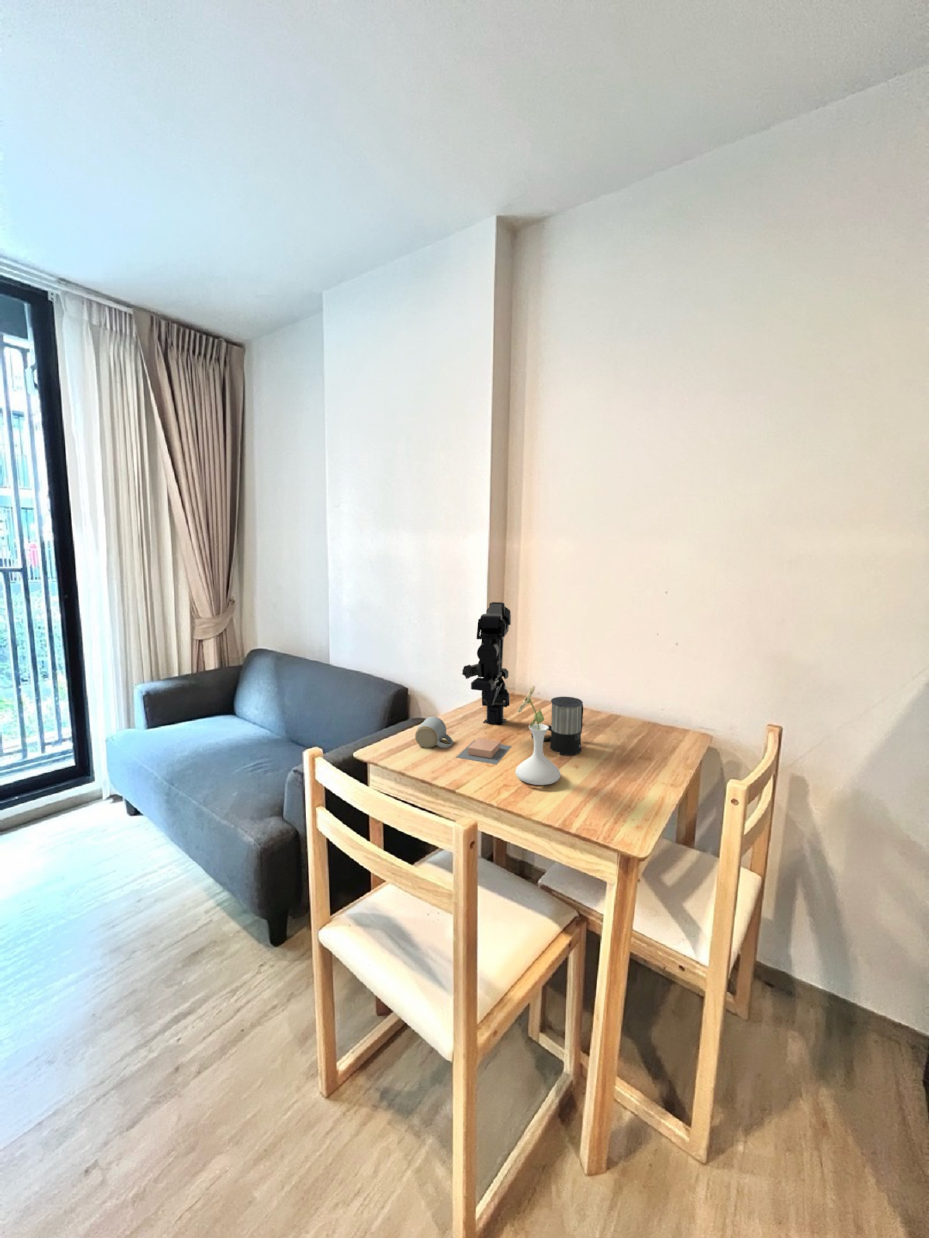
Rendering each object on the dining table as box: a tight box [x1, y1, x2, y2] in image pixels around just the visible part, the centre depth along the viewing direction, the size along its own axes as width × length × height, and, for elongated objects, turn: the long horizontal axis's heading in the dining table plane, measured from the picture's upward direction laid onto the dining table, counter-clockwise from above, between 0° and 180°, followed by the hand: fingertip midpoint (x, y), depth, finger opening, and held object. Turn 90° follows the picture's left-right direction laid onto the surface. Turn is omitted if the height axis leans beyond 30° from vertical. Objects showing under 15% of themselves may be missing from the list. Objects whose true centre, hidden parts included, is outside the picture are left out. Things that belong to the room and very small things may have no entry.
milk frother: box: [530, 696, 584, 756], centre depth 146 cm, size 14×16×15 cm
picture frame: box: [468, 737, 501, 758], centre depth 141 cm, size 2×7×8 cm
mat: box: [455, 739, 513, 765], centre depth 141 cm, size 14×12×1 cm
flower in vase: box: [514, 685, 562, 786], centre depth 123 cm, size 13×11×25 cm
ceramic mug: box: [415, 715, 454, 749], centre depth 147 cm, size 11×8×8 cm
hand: (490, 705), depth 151 cm, fingers closed
